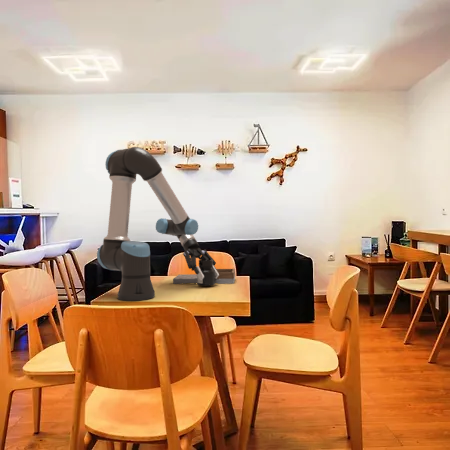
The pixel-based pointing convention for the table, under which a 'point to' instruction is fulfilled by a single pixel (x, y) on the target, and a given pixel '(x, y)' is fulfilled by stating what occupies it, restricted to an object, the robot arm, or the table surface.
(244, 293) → the table surface
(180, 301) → the table surface
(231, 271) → the holder
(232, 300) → the table surface
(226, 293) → the table surface
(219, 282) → the hinge
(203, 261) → the ink bottle
